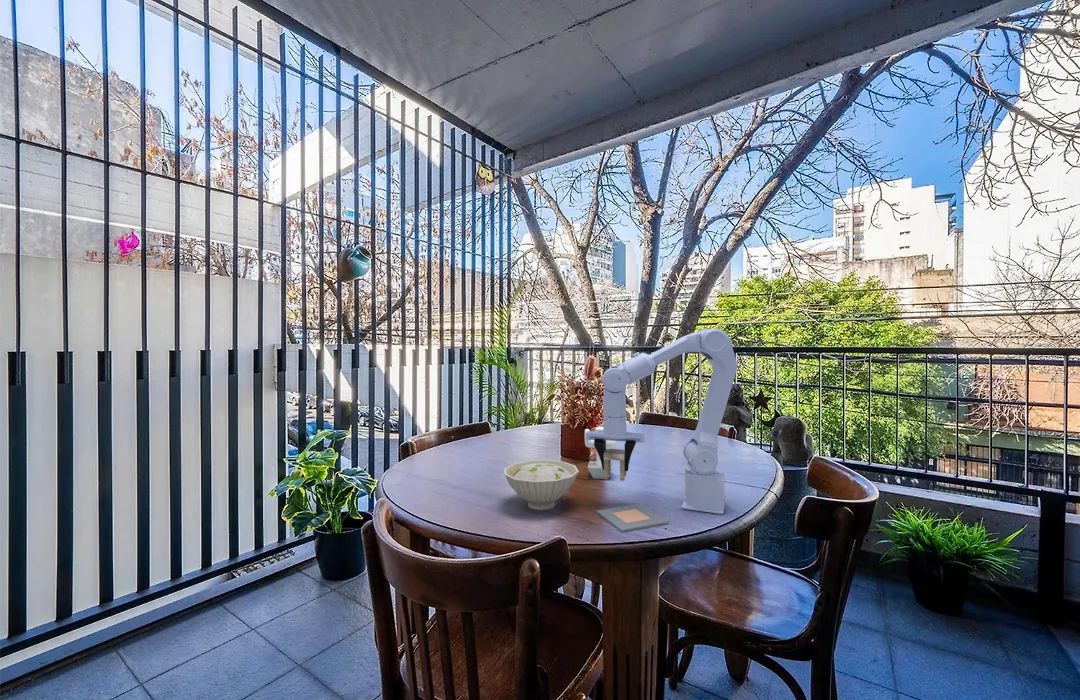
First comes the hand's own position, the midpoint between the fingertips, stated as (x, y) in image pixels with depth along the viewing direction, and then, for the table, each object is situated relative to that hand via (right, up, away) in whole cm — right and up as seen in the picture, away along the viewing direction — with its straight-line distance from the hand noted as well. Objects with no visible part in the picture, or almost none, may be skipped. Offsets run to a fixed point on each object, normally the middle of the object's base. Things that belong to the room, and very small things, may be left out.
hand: (615, 469), depth 116 cm
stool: (0, -2, 0) cm, 2 cm away
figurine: (-1, -9, +23) cm, 25 cm away
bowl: (-19, -9, +1) cm, 21 cm away
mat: (+2, -9, -9) cm, 13 cm away
